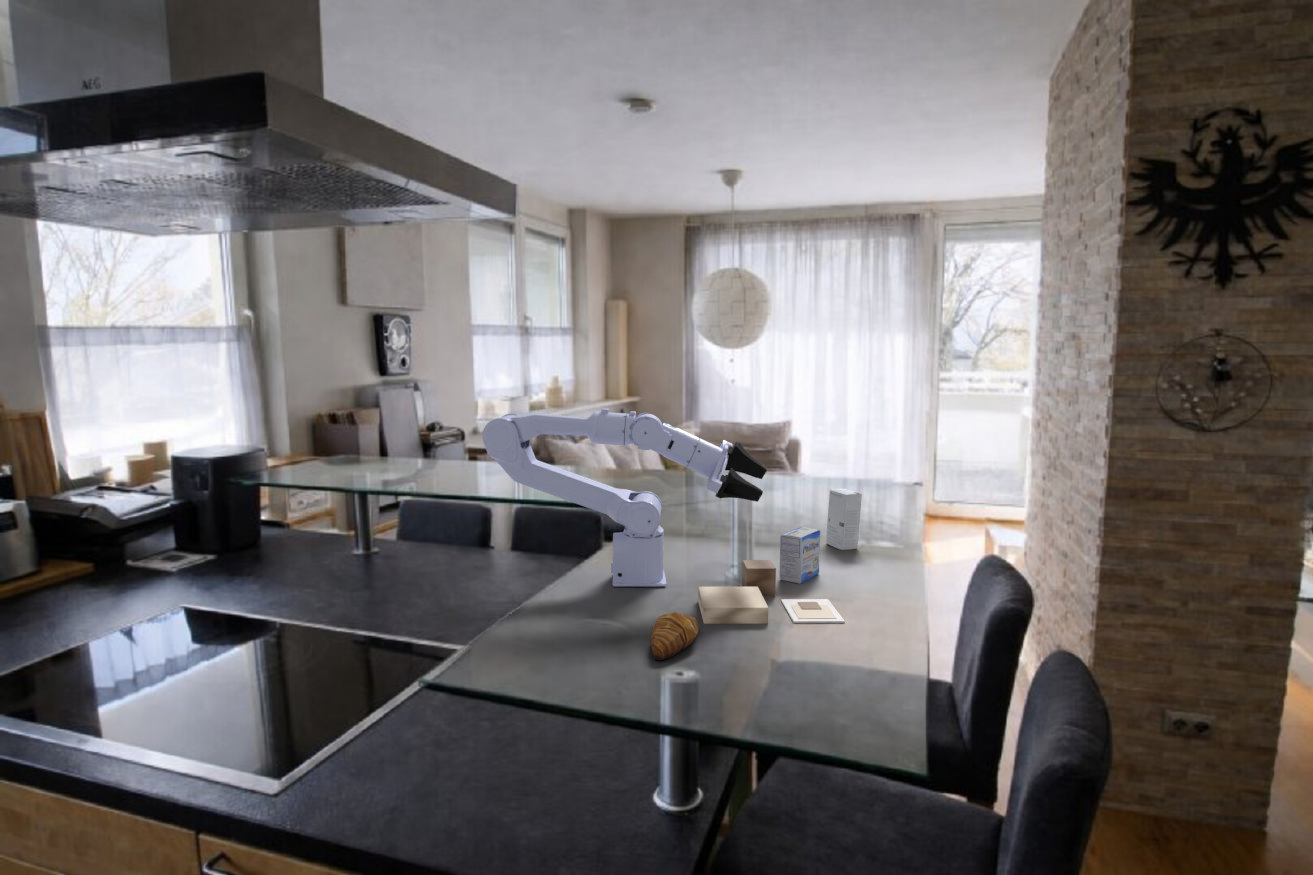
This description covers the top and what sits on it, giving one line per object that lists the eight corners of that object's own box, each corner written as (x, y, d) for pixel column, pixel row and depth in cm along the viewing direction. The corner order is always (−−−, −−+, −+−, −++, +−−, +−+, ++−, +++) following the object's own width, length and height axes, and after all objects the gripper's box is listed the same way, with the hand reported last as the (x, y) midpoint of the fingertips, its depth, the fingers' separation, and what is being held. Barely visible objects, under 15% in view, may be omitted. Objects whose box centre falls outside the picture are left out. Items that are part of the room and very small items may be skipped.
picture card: (793, 623, 117) (793, 620, 117) (780, 600, 127) (781, 598, 127) (844, 622, 117) (844, 619, 117) (828, 600, 127) (828, 598, 127)
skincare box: (825, 543, 163) (827, 488, 162) (842, 541, 165) (844, 487, 163) (842, 551, 158) (844, 494, 156) (859, 549, 159) (862, 492, 158)
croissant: (670, 625, 116) (670, 594, 115) (712, 632, 113) (712, 600, 113) (633, 659, 104) (633, 624, 103) (679, 668, 101) (680, 632, 100)
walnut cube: (746, 596, 129) (746, 568, 129) (741, 587, 134) (742, 560, 134) (775, 596, 129) (776, 568, 129) (769, 587, 134) (770, 560, 134)
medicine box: (800, 585, 136) (802, 538, 134) (778, 580, 138) (779, 533, 137) (819, 574, 142) (821, 529, 141) (798, 570, 144) (799, 525, 143)
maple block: (703, 626, 117) (704, 607, 116) (698, 603, 126) (698, 586, 126) (767, 626, 117) (768, 607, 117) (757, 603, 127) (757, 586, 126)
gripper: (694, 455, 125) (768, 490, 125) (708, 416, 138) (775, 448, 138) (678, 487, 129) (750, 520, 129) (693, 446, 141) (759, 476, 141)
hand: (762, 485), depth 134 cm, fingers open, 7 cm apart
